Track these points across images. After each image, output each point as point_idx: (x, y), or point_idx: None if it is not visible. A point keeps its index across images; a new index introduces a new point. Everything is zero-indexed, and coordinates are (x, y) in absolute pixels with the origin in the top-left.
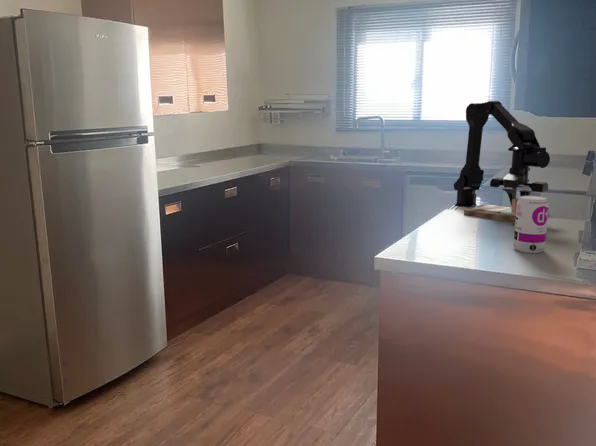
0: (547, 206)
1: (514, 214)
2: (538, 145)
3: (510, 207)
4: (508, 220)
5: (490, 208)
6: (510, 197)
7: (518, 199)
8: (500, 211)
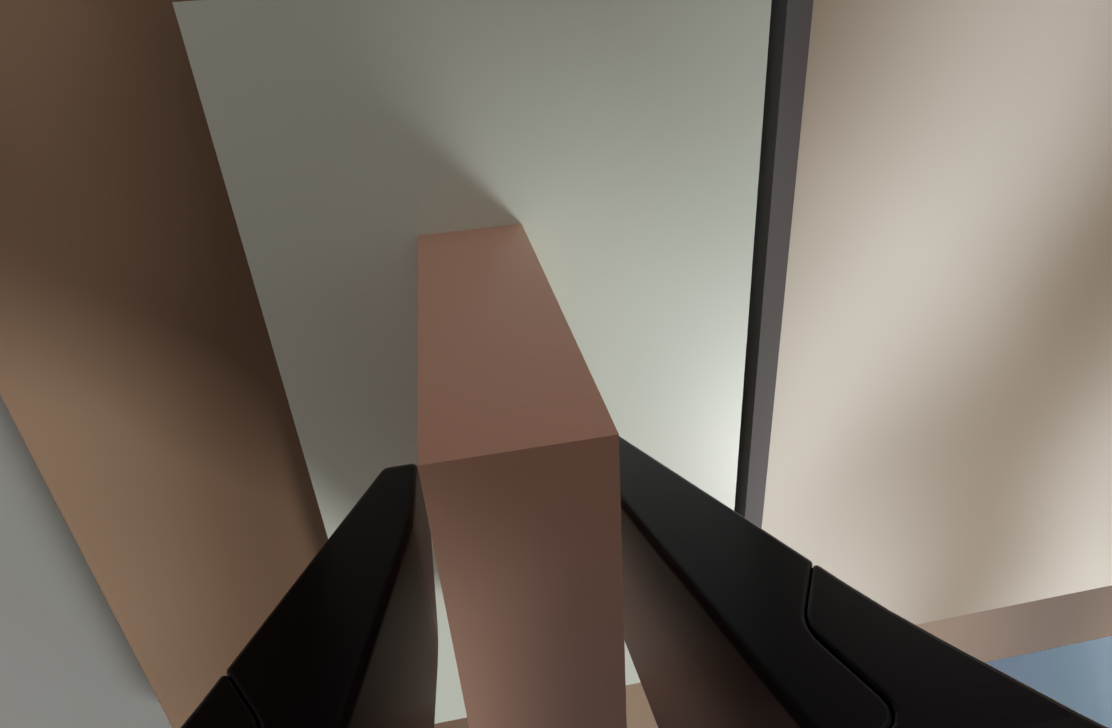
0: None
1: None
2: None
3: None
4: None
5: (1110, 252)
6: (826, 632)
7: (469, 710)
8: (789, 46)
